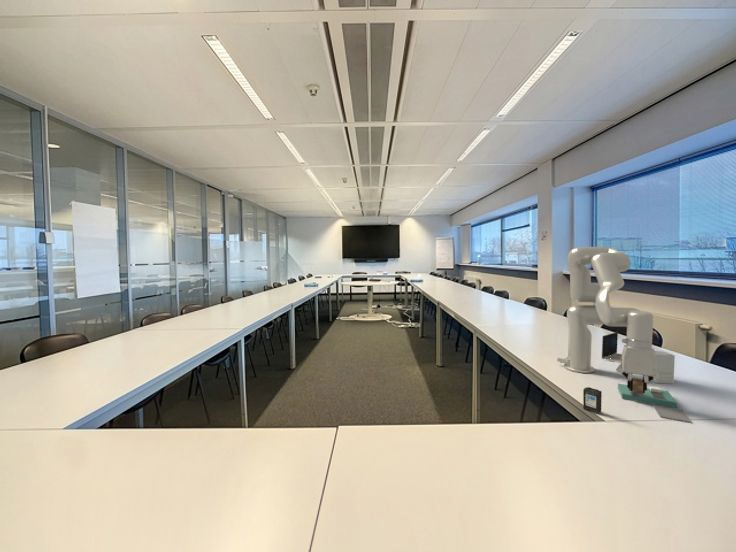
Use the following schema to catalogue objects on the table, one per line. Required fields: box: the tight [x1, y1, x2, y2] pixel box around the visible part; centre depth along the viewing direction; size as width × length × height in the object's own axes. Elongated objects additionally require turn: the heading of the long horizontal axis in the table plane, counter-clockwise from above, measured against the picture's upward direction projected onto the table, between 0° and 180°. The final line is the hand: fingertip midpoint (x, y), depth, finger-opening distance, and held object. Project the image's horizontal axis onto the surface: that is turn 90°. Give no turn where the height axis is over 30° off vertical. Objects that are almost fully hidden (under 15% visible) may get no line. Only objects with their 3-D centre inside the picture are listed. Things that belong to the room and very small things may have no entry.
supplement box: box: [651, 350, 676, 384], centre depth 147 cm, size 7×7×13 cm
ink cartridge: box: [582, 386, 602, 415], centre depth 118 cm, size 5×2×8 cm, turn 32°
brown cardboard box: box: [631, 377, 643, 398], centre depth 127 cm, size 3×4×6 cm
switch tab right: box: [649, 385, 662, 393], centre depth 130 cm, size 3×2×1 cm
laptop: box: [601, 331, 622, 364], centre depth 178 cm, size 18×12×13 cm
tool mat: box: [652, 404, 693, 424], centre depth 116 cm, size 8×10×1 cm
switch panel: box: [617, 383, 678, 409], centre depth 130 cm, size 16×12×2 cm
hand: (636, 390), depth 127 cm, fingers closed on brown cardboard box, 3 cm apart
